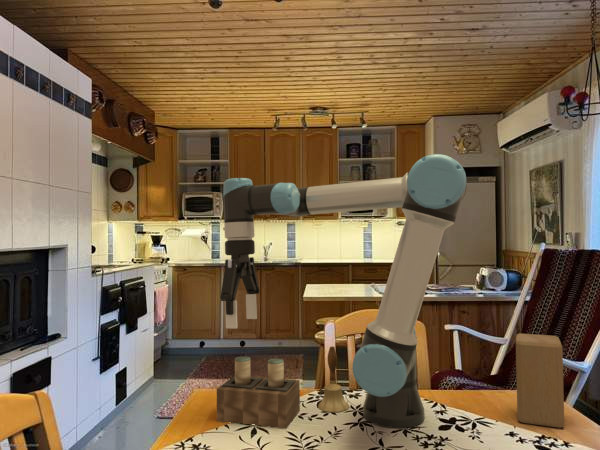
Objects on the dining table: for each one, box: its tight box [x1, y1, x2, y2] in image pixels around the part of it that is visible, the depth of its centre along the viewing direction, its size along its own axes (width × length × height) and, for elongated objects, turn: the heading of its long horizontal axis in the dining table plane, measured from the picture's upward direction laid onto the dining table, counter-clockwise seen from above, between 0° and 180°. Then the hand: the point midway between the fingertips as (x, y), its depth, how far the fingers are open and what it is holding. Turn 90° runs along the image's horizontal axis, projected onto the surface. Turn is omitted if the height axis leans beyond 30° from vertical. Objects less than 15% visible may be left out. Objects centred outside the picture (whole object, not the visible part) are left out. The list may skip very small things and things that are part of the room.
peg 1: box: [234, 356, 252, 385], centre depth 121 cm, size 4×4×8 cm
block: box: [515, 333, 565, 429], centre depth 116 cm, size 10×10×20 cm
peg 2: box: [267, 358, 285, 388], centre depth 119 cm, size 4×4×8 cm
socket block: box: [216, 375, 301, 429], centre depth 120 cm, size 18×12×8 cm, turn 74°
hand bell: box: [317, 346, 350, 413], centre depth 126 cm, size 8×8×16 cm
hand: (242, 323), depth 119 cm, fingers open, 13 cm apart
